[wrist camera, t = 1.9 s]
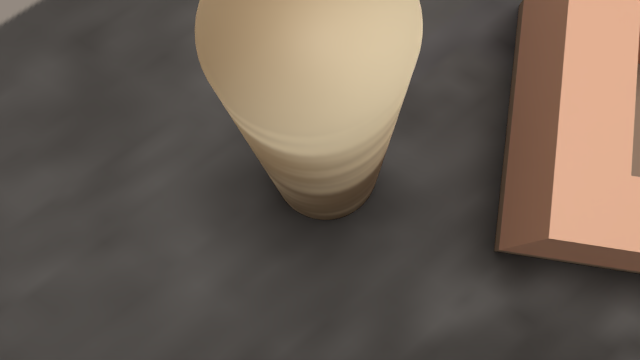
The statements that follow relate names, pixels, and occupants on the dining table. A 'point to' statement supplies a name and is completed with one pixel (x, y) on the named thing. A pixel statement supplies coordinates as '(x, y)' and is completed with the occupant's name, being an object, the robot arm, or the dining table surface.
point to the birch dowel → (313, 88)
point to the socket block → (574, 135)
